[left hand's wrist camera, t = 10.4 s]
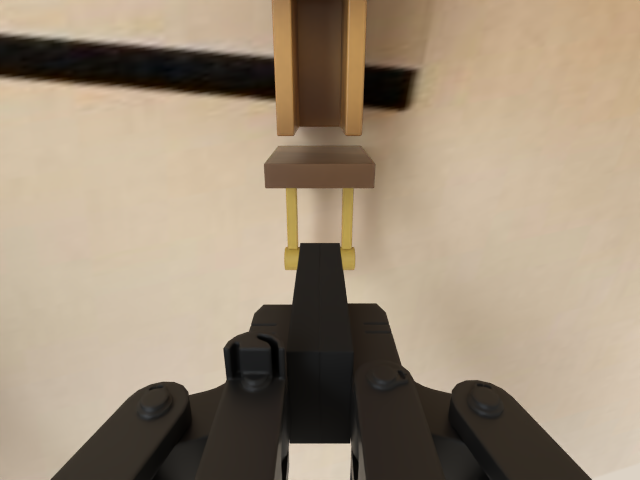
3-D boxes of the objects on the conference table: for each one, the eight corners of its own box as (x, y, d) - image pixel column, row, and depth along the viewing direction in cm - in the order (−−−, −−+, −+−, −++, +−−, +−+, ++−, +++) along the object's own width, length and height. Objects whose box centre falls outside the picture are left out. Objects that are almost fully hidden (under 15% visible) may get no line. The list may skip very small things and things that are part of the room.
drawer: (357, 249, 27) (368, 296, 21) (282, 249, 27) (270, 296, 21) (372, -137, 19) (396, -246, 13) (267, -137, 19) (242, -247, 13)
